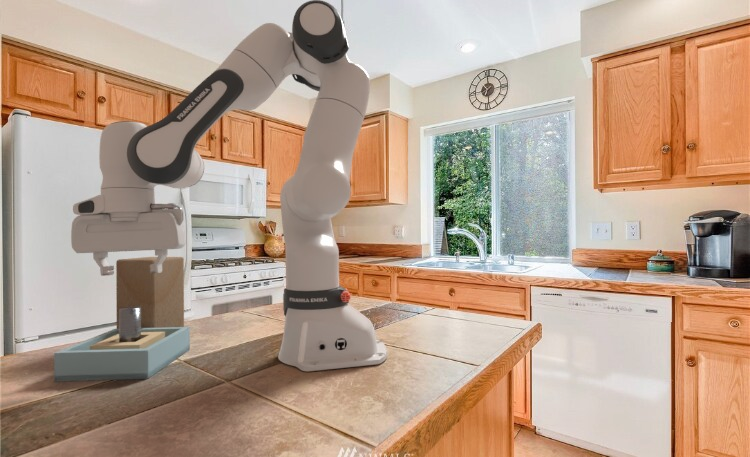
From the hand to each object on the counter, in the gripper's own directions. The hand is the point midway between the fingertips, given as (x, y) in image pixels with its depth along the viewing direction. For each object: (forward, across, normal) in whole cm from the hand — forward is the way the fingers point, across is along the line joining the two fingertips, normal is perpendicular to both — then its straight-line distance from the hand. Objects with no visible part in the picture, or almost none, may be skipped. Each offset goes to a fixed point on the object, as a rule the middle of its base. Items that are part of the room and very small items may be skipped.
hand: (132, 274), depth 72 cm
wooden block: (+18, +5, -15) cm, 24 cm away
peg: (+17, +1, 0) cm, 17 cm away
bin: (+18, +1, 0) cm, 18 cm away
